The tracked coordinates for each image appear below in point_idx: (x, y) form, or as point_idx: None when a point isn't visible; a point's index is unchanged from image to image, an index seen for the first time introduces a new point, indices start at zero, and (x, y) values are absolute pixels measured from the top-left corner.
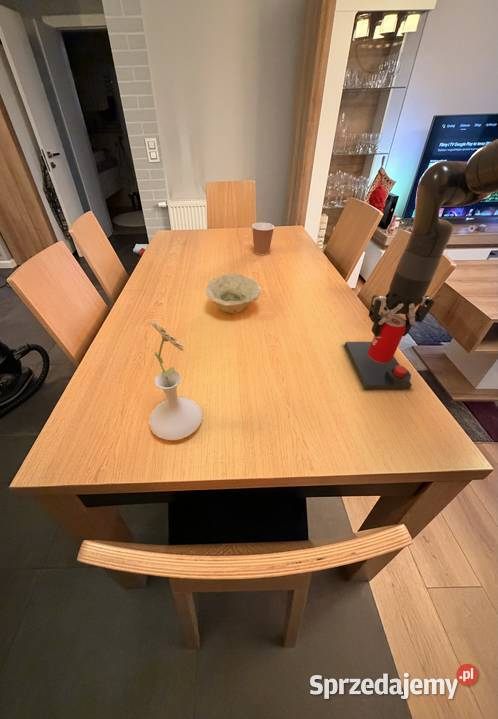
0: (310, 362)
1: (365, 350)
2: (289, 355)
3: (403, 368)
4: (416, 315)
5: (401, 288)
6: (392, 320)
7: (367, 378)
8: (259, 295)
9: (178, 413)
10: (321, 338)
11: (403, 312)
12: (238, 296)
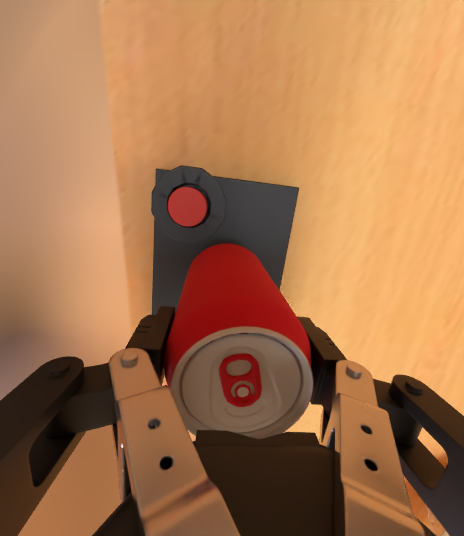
0: (377, 304)
1: None
2: (413, 332)
3: (176, 209)
4: (74, 421)
5: None
6: (261, 388)
7: (281, 215)
8: (445, 531)
9: None
10: None
11: (234, 449)
12: None
